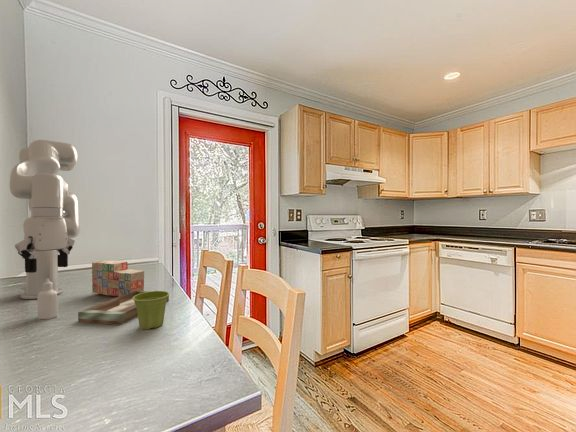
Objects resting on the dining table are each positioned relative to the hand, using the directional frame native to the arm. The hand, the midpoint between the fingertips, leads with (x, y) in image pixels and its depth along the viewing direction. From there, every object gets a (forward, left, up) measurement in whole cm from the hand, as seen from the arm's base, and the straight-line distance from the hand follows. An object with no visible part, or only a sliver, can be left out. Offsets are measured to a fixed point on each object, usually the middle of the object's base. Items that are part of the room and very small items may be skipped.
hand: (47, 269), depth 86 cm
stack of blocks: (+3, +25, -14) cm, 29 cm away
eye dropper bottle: (0, 0, -15) cm, 15 cm away
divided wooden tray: (+20, +10, -15) cm, 27 cm away
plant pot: (+36, -1, -15) cm, 39 cm away
